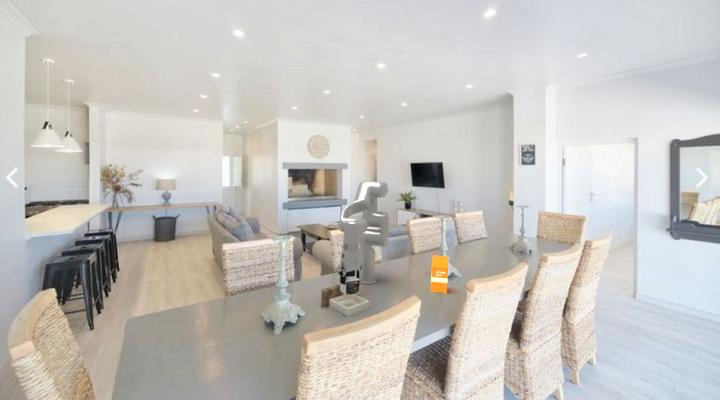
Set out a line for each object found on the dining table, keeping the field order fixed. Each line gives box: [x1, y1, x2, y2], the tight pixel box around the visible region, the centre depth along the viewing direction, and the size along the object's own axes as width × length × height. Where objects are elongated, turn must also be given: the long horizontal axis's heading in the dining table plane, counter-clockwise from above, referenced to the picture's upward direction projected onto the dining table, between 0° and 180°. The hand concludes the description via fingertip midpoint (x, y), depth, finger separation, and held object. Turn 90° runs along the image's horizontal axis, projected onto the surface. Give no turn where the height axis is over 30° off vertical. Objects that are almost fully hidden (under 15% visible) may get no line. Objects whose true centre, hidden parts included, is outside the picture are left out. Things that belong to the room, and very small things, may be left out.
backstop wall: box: [320, 283, 345, 308], centre depth 164 cm, size 18×3×8 cm, turn 134°
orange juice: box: [430, 254, 449, 294], centre depth 183 cm, size 8×9×20 cm
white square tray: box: [328, 294, 371, 317], centre depth 157 cm, size 14×14×4 cm
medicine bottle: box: [339, 270, 361, 296], centre depth 156 cm, size 7×7×12 cm
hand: (349, 281), depth 156 cm, fingers closed on medicine bottle, 8 cm apart
